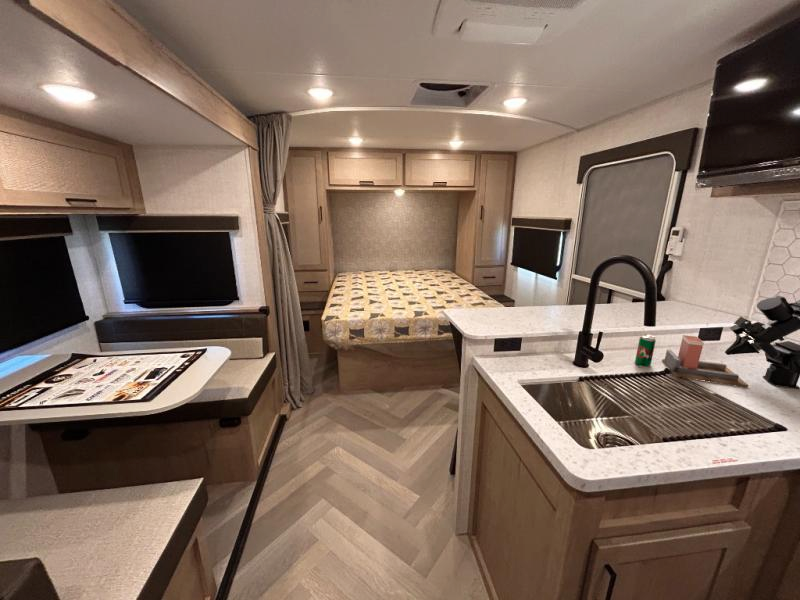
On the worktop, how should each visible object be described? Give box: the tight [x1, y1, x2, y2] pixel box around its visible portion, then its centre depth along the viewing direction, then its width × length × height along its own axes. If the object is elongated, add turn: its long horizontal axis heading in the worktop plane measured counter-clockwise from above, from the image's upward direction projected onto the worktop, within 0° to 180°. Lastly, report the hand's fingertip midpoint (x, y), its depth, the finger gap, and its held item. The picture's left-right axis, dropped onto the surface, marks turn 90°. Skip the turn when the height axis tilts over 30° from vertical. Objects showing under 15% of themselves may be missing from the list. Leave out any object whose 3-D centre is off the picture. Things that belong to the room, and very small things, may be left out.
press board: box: [661, 358, 749, 388], centre depth 118 cm, size 20×14×1 cm
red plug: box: [677, 335, 705, 369], centre depth 118 cm, size 4×6×12 cm
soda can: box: [634, 334, 657, 367], centre depth 124 cm, size 5×5×12 cm
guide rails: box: [664, 349, 740, 381], centre depth 117 cm, size 18×10×5 cm, turn 67°
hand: (725, 353), depth 114 cm, fingers closed
